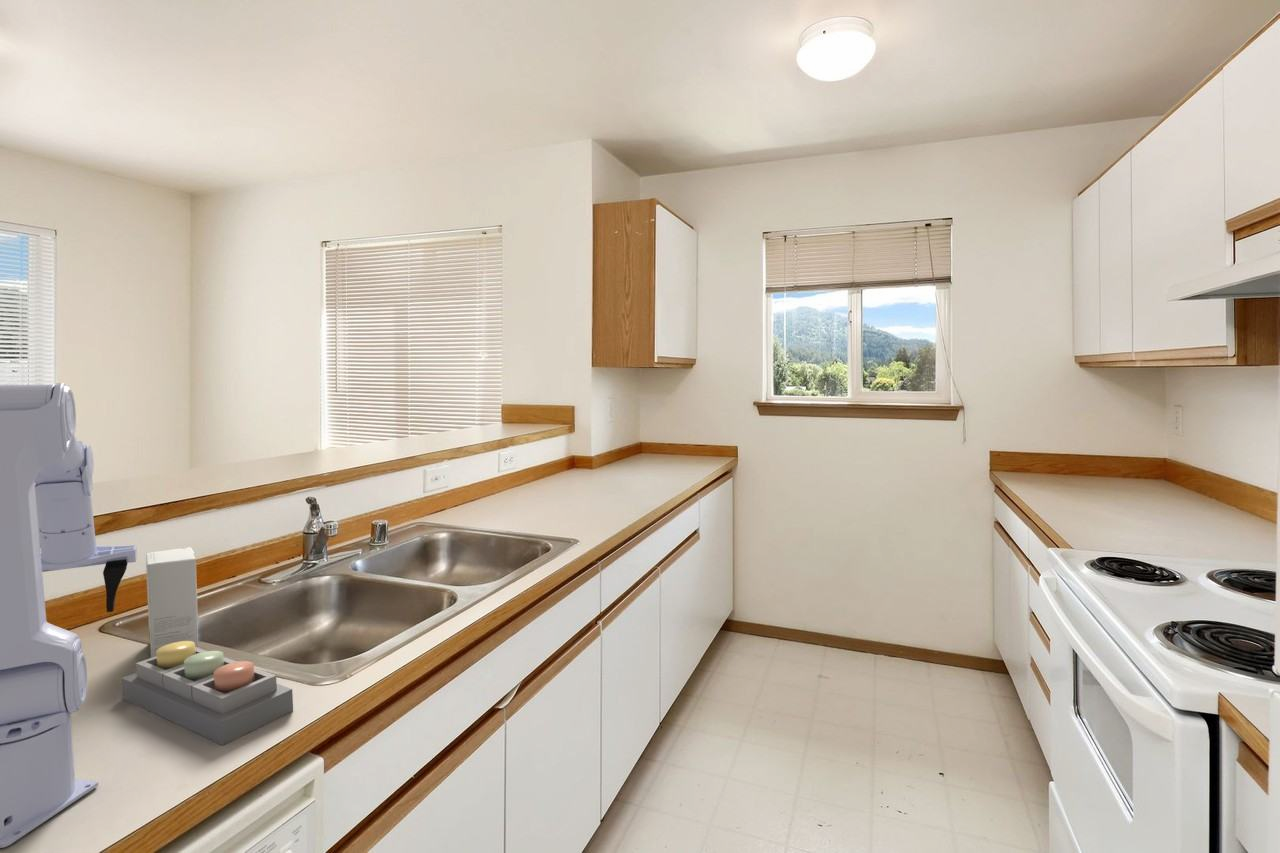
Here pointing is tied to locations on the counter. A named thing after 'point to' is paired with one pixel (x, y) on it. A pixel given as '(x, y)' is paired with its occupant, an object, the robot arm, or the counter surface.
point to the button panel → (207, 700)
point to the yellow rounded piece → (174, 654)
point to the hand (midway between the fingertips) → (76, 614)
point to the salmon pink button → (233, 676)
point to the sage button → (203, 664)
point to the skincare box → (171, 597)
